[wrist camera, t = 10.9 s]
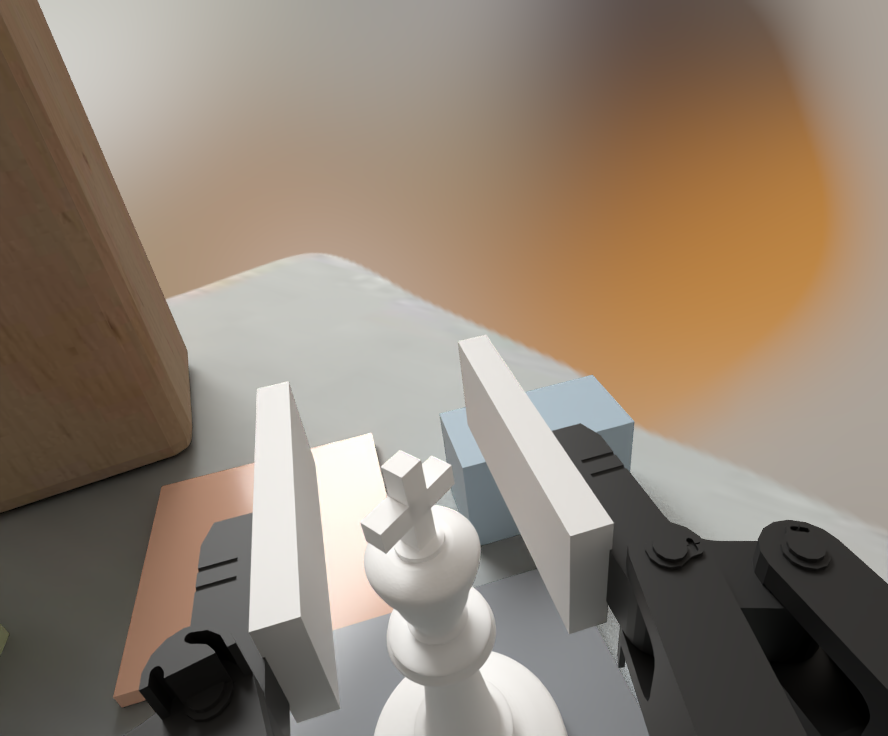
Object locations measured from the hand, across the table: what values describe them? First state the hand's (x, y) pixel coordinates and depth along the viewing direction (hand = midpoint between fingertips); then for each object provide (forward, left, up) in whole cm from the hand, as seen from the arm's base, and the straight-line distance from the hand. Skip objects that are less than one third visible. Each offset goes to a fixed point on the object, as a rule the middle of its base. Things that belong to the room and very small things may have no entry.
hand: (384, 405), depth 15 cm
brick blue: (+5, +3, -8) cm, 10 cm away
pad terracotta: (-5, +4, -8) cm, 10 cm away
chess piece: (0, -5, -7) cm, 9 cm away
